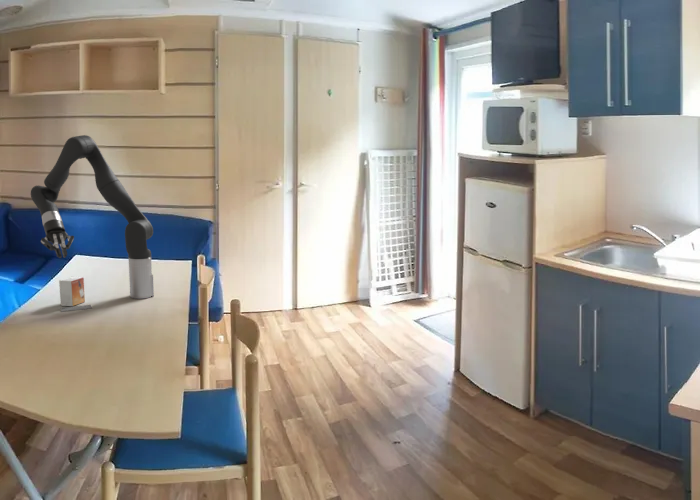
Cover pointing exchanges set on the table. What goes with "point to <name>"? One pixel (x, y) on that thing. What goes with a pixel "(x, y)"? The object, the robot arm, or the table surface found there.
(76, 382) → the table surface
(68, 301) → the small box
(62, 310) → the charcoal mat
